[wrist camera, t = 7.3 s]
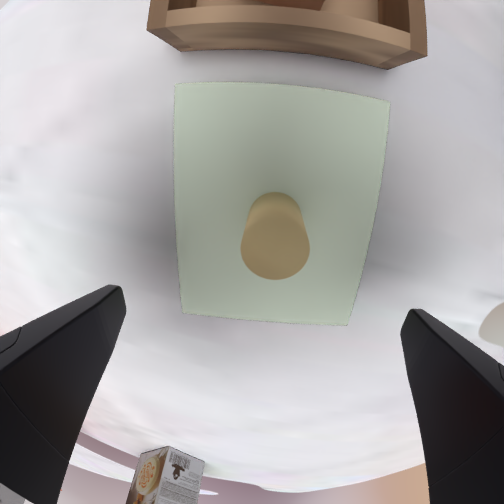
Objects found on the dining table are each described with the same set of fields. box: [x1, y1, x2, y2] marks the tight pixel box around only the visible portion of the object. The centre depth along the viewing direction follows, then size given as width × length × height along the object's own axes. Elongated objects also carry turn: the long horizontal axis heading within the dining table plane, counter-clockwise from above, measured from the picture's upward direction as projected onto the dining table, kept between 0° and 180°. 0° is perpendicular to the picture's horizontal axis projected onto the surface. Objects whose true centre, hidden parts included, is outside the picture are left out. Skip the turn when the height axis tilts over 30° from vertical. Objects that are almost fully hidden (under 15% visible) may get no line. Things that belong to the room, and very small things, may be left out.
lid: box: [173, 82, 390, 326], centre depth 14 cm, size 11×14×5 cm
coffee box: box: [126, 446, 204, 504], centre depth 25 cm, size 9×6×16 cm
